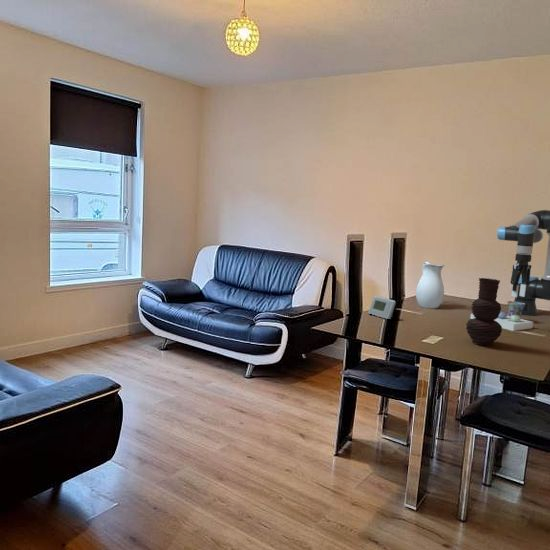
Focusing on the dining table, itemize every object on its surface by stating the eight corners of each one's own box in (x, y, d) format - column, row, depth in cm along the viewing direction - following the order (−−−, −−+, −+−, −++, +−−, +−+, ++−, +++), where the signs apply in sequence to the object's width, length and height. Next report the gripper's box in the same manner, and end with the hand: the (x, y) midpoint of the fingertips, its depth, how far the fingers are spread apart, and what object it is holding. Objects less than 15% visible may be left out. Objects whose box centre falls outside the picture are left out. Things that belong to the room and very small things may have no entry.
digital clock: (366, 314, 277) (368, 295, 275) (379, 313, 280) (381, 295, 279) (383, 320, 262) (385, 301, 261) (397, 320, 266) (399, 301, 264)
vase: (482, 349, 217) (490, 282, 212) (456, 339, 230) (464, 276, 226) (507, 347, 223) (516, 282, 219) (481, 338, 237) (488, 276, 233)
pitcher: (446, 310, 303) (451, 265, 299) (418, 308, 303) (423, 263, 299) (434, 302, 326) (438, 261, 323) (408, 301, 326) (413, 259, 323)
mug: (520, 323, 277) (523, 305, 276) (503, 320, 283) (505, 302, 281) (525, 320, 287) (527, 302, 285) (508, 317, 292) (510, 300, 291)
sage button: (513, 322, 269) (514, 314, 268) (521, 324, 265) (522, 316, 264) (507, 322, 266) (508, 315, 266) (516, 324, 262) (517, 317, 262)
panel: (489, 317, 288) (490, 311, 288) (532, 328, 267) (533, 321, 266) (470, 319, 279) (470, 313, 278) (513, 330, 257) (514, 324, 256)
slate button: (499, 318, 276) (500, 311, 275) (507, 320, 272) (508, 313, 271) (494, 319, 273) (495, 312, 272) (502, 321, 269) (503, 314, 268)
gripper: (527, 253, 269) (521, 294, 272) (506, 253, 258) (501, 296, 262) (540, 254, 263) (535, 297, 266) (520, 254, 252) (514, 298, 255)
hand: (518, 296), depth 264 cm, fingers open, 6 cm apart
